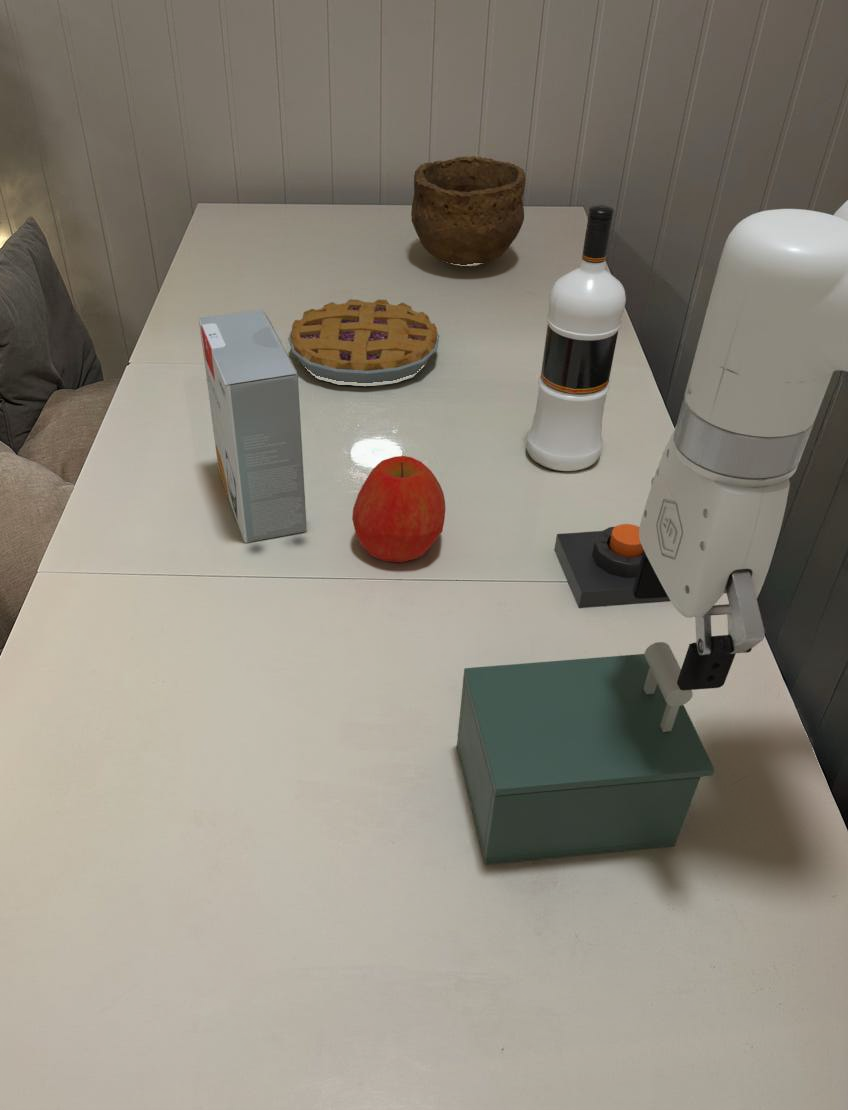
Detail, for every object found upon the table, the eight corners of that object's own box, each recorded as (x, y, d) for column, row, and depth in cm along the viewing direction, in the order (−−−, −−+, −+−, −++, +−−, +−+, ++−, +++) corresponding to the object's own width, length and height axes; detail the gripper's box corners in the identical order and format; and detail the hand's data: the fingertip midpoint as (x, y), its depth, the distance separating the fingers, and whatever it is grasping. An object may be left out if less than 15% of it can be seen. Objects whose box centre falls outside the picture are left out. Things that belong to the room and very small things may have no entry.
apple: (455, 565, 103) (462, 484, 96) (363, 578, 101) (362, 496, 94) (431, 511, 110) (435, 432, 103) (344, 523, 109) (342, 443, 102)
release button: (637, 536, 101) (640, 522, 100) (648, 556, 98) (652, 543, 97) (604, 538, 101) (607, 524, 100) (615, 559, 98) (618, 545, 97)
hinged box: (626, 729, 86) (646, 660, 80) (674, 846, 77) (700, 777, 71) (456, 744, 85) (463, 675, 78) (485, 864, 75) (495, 796, 69)
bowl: (393, 274, 161) (394, 180, 151) (432, 236, 173) (435, 147, 163) (499, 292, 155) (508, 196, 145) (531, 251, 168) (541, 161, 158)
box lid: (656, 659, 80) (671, 607, 76) (712, 776, 71) (733, 724, 67) (463, 674, 78) (468, 622, 74) (495, 796, 69) (502, 744, 65)
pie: (290, 325, 146) (288, 293, 143) (431, 322, 147) (433, 291, 144) (287, 395, 130) (285, 361, 127) (445, 392, 131) (447, 358, 128)
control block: (658, 542, 106) (666, 512, 103) (690, 600, 99) (699, 570, 96) (554, 549, 105) (558, 520, 102) (578, 608, 98) (584, 578, 95)
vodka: (515, 464, 118) (546, 213, 97) (538, 428, 124) (571, 186, 103) (588, 481, 115) (635, 227, 94) (607, 444, 121) (656, 198, 100)
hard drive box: (216, 471, 117) (197, 315, 103) (277, 461, 118) (266, 306, 105) (243, 545, 106) (224, 381, 92) (309, 533, 107) (301, 370, 94)
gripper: (635, 368, 63) (591, 567, 75) (737, 520, 51) (665, 731, 63) (742, 363, 64) (682, 562, 76) (869, 512, 52) (773, 722, 63)
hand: (674, 638), depth 69 cm, fingers open, 9 cm apart
